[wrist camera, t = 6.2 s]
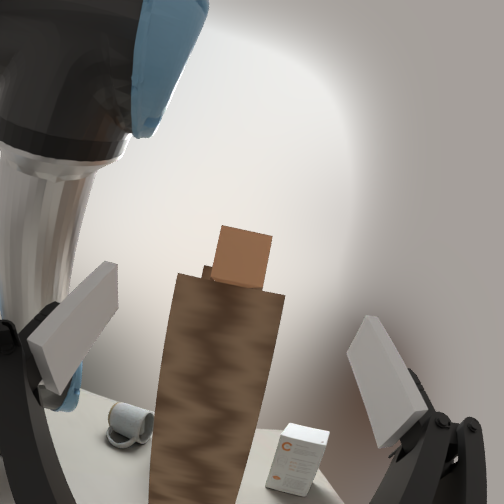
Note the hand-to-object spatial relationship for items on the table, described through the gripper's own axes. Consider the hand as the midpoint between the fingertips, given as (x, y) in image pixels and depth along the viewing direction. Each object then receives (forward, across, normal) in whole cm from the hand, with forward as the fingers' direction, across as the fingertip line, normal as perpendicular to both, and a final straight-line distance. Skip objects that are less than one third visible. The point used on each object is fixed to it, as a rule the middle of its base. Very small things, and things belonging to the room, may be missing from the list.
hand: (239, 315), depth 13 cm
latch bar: (+13, 0, -6) cm, 14 cm away
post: (-3, 0, -38) cm, 38 cm away
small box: (+7, +18, -44) cm, 48 cm away
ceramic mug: (+14, -15, -48) cm, 52 cm away
